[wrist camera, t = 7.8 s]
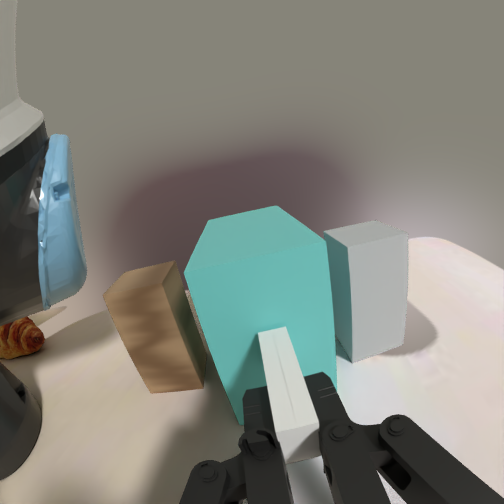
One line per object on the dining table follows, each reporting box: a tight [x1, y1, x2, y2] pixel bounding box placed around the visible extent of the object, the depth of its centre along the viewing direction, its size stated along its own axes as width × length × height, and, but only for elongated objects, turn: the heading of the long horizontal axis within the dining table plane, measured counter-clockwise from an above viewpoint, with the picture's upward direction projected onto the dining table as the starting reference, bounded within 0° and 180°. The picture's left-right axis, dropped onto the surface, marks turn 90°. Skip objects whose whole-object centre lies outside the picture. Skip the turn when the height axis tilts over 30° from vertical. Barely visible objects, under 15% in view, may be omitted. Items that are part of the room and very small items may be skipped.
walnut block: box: [103, 261, 207, 393], centre depth 22 cm, size 5×5×10 cm
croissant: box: [0, 316, 45, 359], centre depth 30 cm, size 21×10×8 cm, turn 87°
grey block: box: [324, 220, 408, 363], centre depth 21 cm, size 5×5×10 cm
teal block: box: [184, 206, 337, 425], centre depth 22 cm, size 7×15×12 cm, turn 5°
